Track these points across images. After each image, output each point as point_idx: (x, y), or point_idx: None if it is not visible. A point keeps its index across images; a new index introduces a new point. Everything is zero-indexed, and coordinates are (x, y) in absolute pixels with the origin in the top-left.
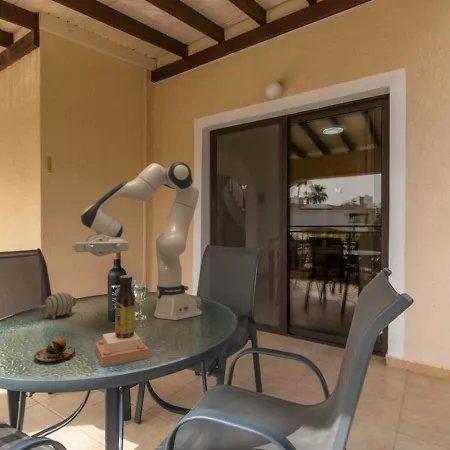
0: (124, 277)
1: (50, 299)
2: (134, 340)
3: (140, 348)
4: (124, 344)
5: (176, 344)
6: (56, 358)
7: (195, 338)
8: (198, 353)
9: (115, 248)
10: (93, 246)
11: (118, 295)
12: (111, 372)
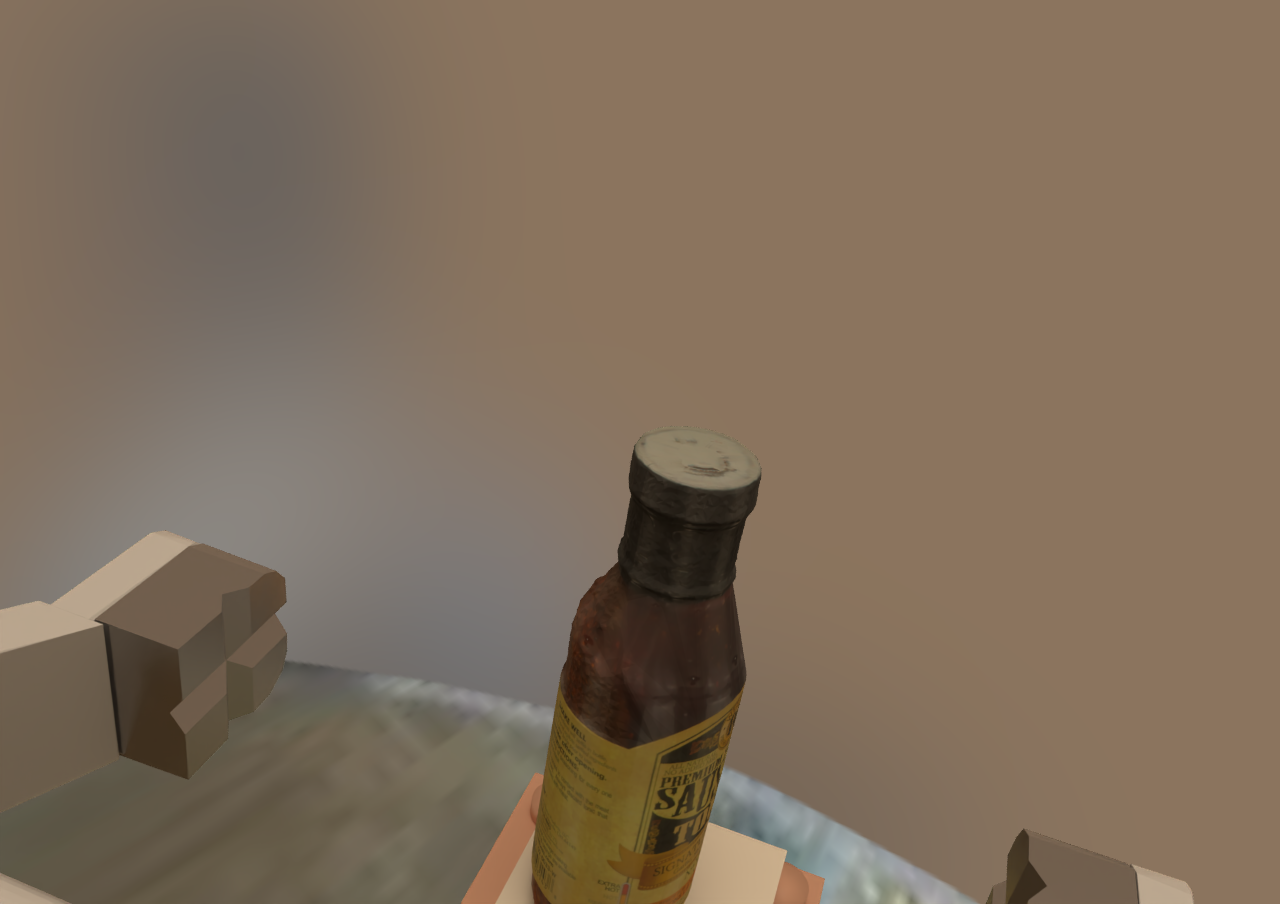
0: (736, 440)
1: None
2: None
3: None
4: None
5: (215, 835)
6: None
7: (17, 808)
8: (289, 662)
9: (254, 684)
10: (1027, 835)
11: (738, 624)
12: (791, 832)
